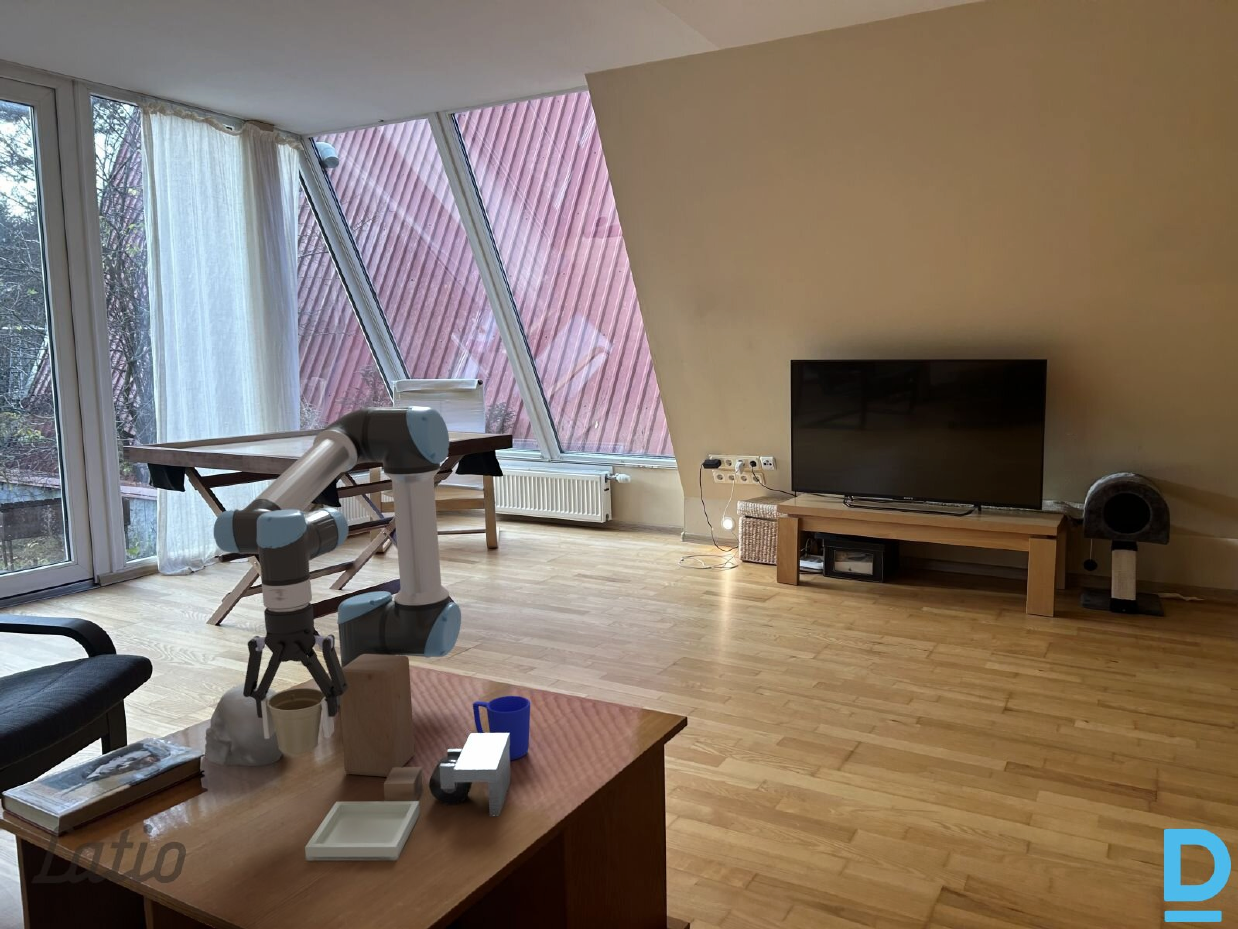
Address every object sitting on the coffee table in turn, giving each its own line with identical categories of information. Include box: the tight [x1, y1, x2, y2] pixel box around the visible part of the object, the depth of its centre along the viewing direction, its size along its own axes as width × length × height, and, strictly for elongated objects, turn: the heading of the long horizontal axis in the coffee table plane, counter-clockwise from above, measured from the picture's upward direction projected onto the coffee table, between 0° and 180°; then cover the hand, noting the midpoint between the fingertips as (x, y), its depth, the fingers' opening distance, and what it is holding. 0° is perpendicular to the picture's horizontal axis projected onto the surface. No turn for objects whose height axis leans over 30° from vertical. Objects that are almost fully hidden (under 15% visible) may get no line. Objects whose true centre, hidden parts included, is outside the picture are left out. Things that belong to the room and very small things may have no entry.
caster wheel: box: [428, 732, 512, 817], centre depth 159 cm, size 14×12×9 cm
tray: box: [304, 800, 421, 862], centre depth 149 cm, size 14×14×2 cm
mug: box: [472, 695, 531, 761], centre depth 177 cm, size 8×12×10 cm
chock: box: [383, 766, 424, 801], centre depth 160 cm, size 6×5×4 cm
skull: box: [204, 683, 284, 767], centre depth 178 cm, size 13×18×15 cm
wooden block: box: [339, 654, 415, 778], centre depth 172 cm, size 10×10×20 cm
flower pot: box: [267, 687, 325, 756], centre depth 156 cm, size 9×9×9 cm
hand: (299, 734), depth 156 cm, fingers closed on flower pot, 9 cm apart
